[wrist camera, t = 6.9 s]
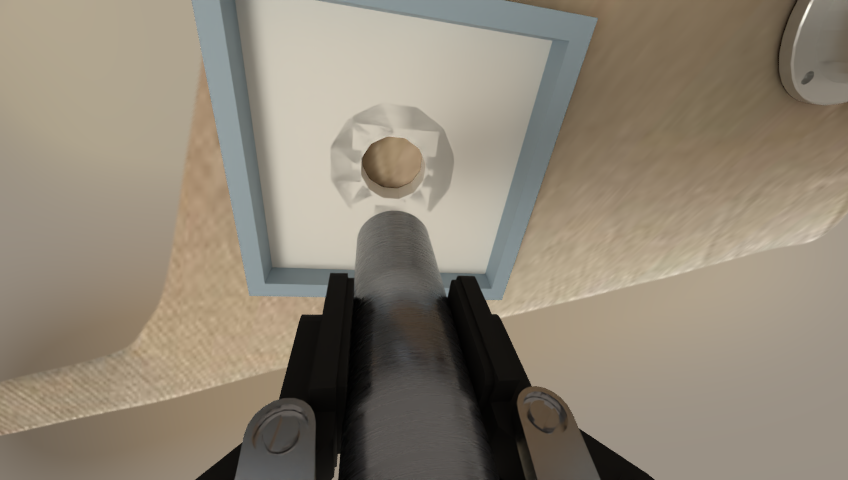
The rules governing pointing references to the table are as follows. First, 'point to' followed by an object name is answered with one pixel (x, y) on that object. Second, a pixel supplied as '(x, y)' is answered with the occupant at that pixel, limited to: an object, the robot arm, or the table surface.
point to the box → (385, 126)
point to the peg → (407, 367)
